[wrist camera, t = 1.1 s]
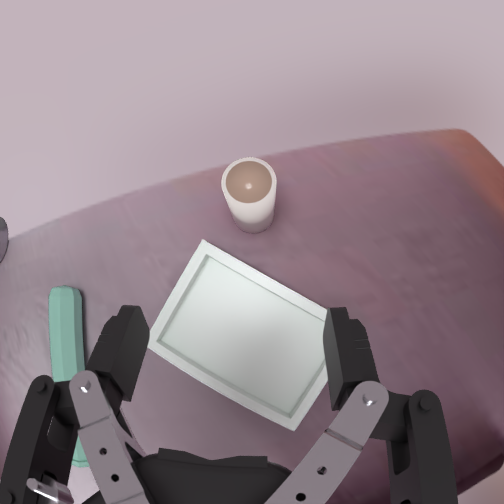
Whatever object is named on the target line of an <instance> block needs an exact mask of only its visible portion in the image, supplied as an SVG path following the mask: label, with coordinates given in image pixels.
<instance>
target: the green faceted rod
mask: <svg viewBox="0 0 504 504" xmlns="http://www.w3.org/2000/svg"><path fill="white" fill-rule="evenodd" d="M49 340H50V355H51V366H52V376H53V381H54V382H60V381H68V380H71V379H72V377H73V376H74V375H75V374H77V373H78V372H80V371H84V370H85V365H84V352H83V334H82V297H81V295H80V292H79V290H78V289H75V288H72V287H69V286H66V285H64V286H59V287H54V288H52V289H51V292H50V294H49ZM71 465H74V466H77V467H89V463H88V461H87V458H86V455H85V453H84V450H83V447H82V445H81V442H80V439H79V436H78V438H77V442H76V447H75V451H74V455H73V460H72V464H71Z"/></svg>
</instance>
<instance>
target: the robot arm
mask: <svg viewBox="0 0 504 504" xmlns="http://www.w3.org/2000/svg"><path fill="white" fill-rule="evenodd" d="M7 244H8V228H7V224H6V222H5V220H4V219H3V218H1V217H0V262H1V260H2V259H3V257H4V254H5V252H6V248H7ZM149 338H150V332H149V328H148V325H147V323H146V320H145V317H144V315H143V312H142V310H141V308H140V306H132V305H123V306H122V307H121V309H120V311H119V313H118V315H117V316H112V317H111V318H110V319H109V320H108V321H107V322H106V324H105V325H104V327H103V330H102V332H101V335H100V336H99V338H98V342H97V343H96V345H95V347H94V350H93V352H92V354H91V357H90V359H89V361H88V364H87V366H86V368H85V370H84V371H80V372H78V373H77V374H75V375H74V376H73V377H72V379H71V380H68V381H60V382H54V381H53V379H52V378H51V377H49V376H47V375H41V376H38V377H37V378H35V379H34V380H33V382H32V383H31V385H30V388H29V390H28V393H27V395H26V398H25V401H24V404H23V406H22V409H21V412H20V415H19V418H18V421H17V424H16V427H15V430H14V433H13V436H12V439H11V443H10V446H9V450H8V453H7V457H6V461H5V464H4V468H3V472H2V477H1V481H0V504H73V503H74V500H73V498H72V496H71V492H70V490H69V489H68V488H67V484H68V479H69V474H70V469H71V464H72V460H73V455H74V451H75V447H76V442H77V438H78V436H79V439H80V442H81V445H82V447H83V450H84V453H85V455H86V458H87V461H88V463H89V466H90V468H91V471H92V473H93V476H94V478H95V480H96V482H97V485H98V487H99V489H100V490H99V491H98V492H96V493H95V494H94V495H92V496H91V497H90V498H88V499H87V500H86V501H84V502H83V503H82V504H325V503H326V501H327V500H328V499H329V498H330V496H331V495H332V494H333V492H334V491H335V489H336V488H337V487H338V485H339V484H340V483H341V481H342V480H343V478H344V477H345V475H346V474H347V473H348V471H349V470H350V468H351V467H352V465H353V464H354V462H355V461H356V459H357V458H358V456H359V454H360V453H361V451H362V449H363V446H364V444H365V443H366V441H367V439H368V438H374V439H380V440H386V445H387V455H388V466H389V478H390V494H391V504H458V498H457V489H456V481H455V474H454V467H453V461H452V455H451V449H450V444H449V438H448V433H447V429H446V424H445V420H444V415H443V411H442V407H441V403H440V400H439V398H438V397H437V395H436V394H434V393H433V392H431V391H429V390H419V391H417V392H415V393H414V394H413V395H412V396H409V395H402V394H396V393H393V392H390V391H388V390H387V389H386V388H385V387H384V386H383V385H382V384H381V383H380V381H379V378H378V375H377V371H376V367H375V363H374V359H373V355H372V351H371V349H370V344H369V341H368V336H367V333H366V329H365V327H364V326H363V325H362V324H361V322H360V321H359V320H358V319H350V320H349V316H348V312H347V309H346V307H339V308H328V309H327V314H326V319H325V325H324V330H323V348H324V355H325V362H326V369H327V376H328V384H329V391H330V399H331V407H332V411H335V410H339V413H338V415H337V416H336V418H335V419H334V421H333V422H332V423H331V425H330V426H329V428H328V429H327V430H325V432H324V433H323V434H322V435H321V437H320V438H319V439H318V441H317V442H316V443H315V444H314V446H313V447H312V448H311V450H310V451H309V452H308V454H307V455H306V456H305V457H304V459H303V460H302V461H301V462H300V464H299V465H298V466H297V467H296V468H295V470H294V471H293V472H291V471H290V470H288V469H287V468H285V467H283V466H281V465H279V464H276V463H272V462H268V461H267V456H236V457H231V458H225V459H218V460H207V459H204V458H202V457H199V456H196V455H193V454H190V453H187V452H185V451H178V450H171V449H164V448H159V451H158V453H157V454H151V455H148V456H147V455H146V454H145V452H144V450H143V449H142V448H141V446H140V445H139V443H138V442H137V440H136V438H135V436H134V434H133V432H132V430H131V428H130V426H129V424H128V422H127V420H126V417H125V415H124V413H123V411H122V409H121V407H120V406H121V402H122V400H124V401H129V402H131V399H132V395H133V392H134V388H135V385H136V382H137V378H138V375H139V372H140V368H141V365H142V362H143V359H144V356H145V352H146V349H147V346H148V343H149ZM52 417H53V418H52ZM51 420H52V422H51ZM50 423H51V425H50ZM49 427H50V428H49ZM48 430H49V432H48ZM47 434H48V435H47Z"/></svg>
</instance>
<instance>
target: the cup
mask: <svg viewBox="0 0 504 504" xmlns="http://www.w3.org/2000/svg"><path fill="white" fill-rule="evenodd" d="M221 185H222V190H223V193H224V196H225V198H226V201H227V203H228V206H229V209H230V211H231V214H232V217H233V219H234V222H235V224H236V225H237V226H238V228H240V229H241V230H242V231H244V232H247V233H252V234H254V233H260V232H262V231H264V230H266V229H267V228H268V227H269V226H270V225H271V223H272V221H273V218H274V208H275V195H276V175H275V173H274V171H273V169H272V168H271V166H270V165H269V164H267V163H266V162H265V161H263V160H261V159H258V158H252V157H247V158H241V159H238V160H236V161H234V162H233V163H231V164H230V165H229V166H228V167H227V168H226V170H225V172H224V173H223V176H222V181H221Z"/></svg>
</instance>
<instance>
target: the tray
mask: <svg viewBox="0 0 504 504" xmlns="http://www.w3.org/2000/svg"><path fill="white" fill-rule="evenodd" d="M326 314H327V309H325V308H323V307H321V306H319V305H318V304H316V303H314V302H312V301H310V300H309V299H307V298H305V297H303V296H301V295H300V294H298V293H296V292H294V291H293V290H291V289H289V288H287V287H285V286H284V285H282V284H280V283H278V282H277V281H275V280H273V279H271V278H269V277H268V276H266V275H264V274H262V273H261V272H259V271H257V270H255V269H254V268H252V267H250V266H248V265H246V264H245V263H243V262H241V261H239V260H238V259H236V258H234V257H232V256H231V255H229V254H227V253H225V252H224V251H222V250H220V249H218V248H217V247H215V246H213V245H211V244H210V243H208V242H206V241H205V240H202V241H201V243H200V245H199V246H198V248H197V250H196V252H195V253H194V255H193V257H192V258H191V260H190V262H189V263H188V265H187V267H186V268H185V270H184V272H183V274H182V275H181V277H180V279H179V281H178V282H177V284H176V286H175V288H174V289H173V291H172V293H171V295H170V296H169V298H168V300H167V302H166V303H165V305H164V307H163V309H162V310H161V312H160V314H159V316H158V318H157V319H156V321H155V323H154V325H153V327H152V329H151V330H150V338H149V343H148V346H147V347H148V348H149V349H151V350H152V351H154V352H155V353H157V354H158V355H159V356H161V357H162V358H164V359H165V360H167V361H168V362H170V363H171V364H173V365H175V366H176V367H178V368H179V369H181V370H182V371H184V372H186V373H187V374H189V375H190V376H192V377H194V378H195V379H197V380H198V381H200V382H202V383H203V384H205V385H207V386H208V387H210V388H212V389H214V390H215V391H217V392H219V393H220V394H222V395H224V396H226V397H228V398H229V399H231V400H233V401H235V402H237V403H238V404H240V405H242V406H244V407H246V408H248V409H250V410H252V411H254V412H255V413H257V414H259V415H261V416H263V417H265V418H267V419H269V420H271V421H273V422H275V423H278V424H280V425H282V426H284V427H286V428H288V429H290V430H292V431H295V429H296V428H297V427H298V425H299V424H300V422H301V421H302V419H303V418H304V416H305V415H306V413H307V412H308V410H309V409H310V407H311V406H312V404H313V403H314V401H315V400H316V398H317V397H318V395H319V394H320V392H321V390H322V389H323V387H324V386H325V384H326V382H327V381H328V376H327V369H326V362H325V355H324V348H323V330H324V325H325V319H326Z"/></svg>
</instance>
